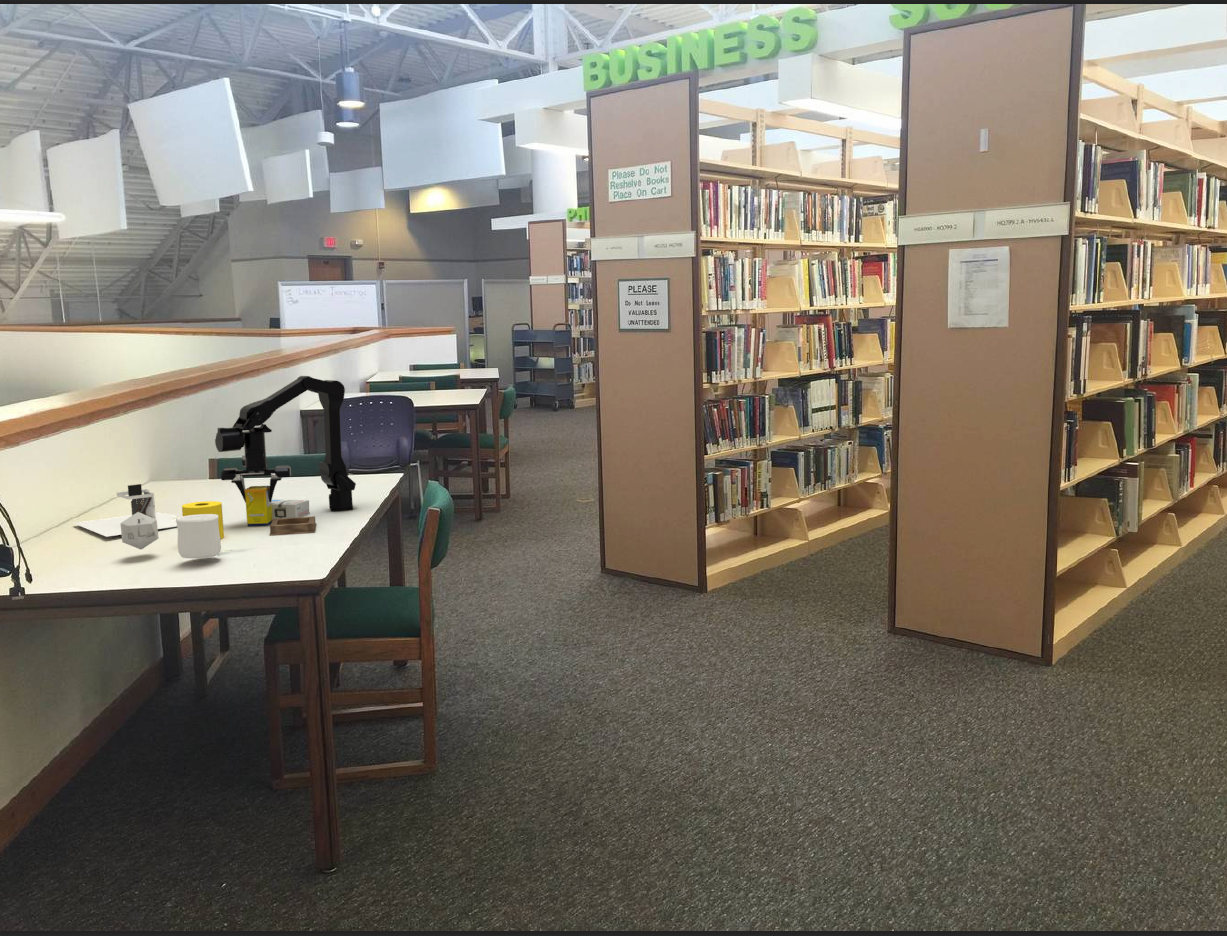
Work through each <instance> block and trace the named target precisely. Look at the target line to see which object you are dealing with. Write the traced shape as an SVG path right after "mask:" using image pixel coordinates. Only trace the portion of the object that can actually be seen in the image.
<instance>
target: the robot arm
mask: <svg viewBox="0 0 1227 936" xmlns="http://www.w3.org/2000/svg"><path fill="white" fill-rule="evenodd" d="M307 391H309V392H312V393H316V394H317V396H318V399H319V402H320V405H321V406H322V409H323V418H324V420H323V423H324V447H325V449H324V450H325V452H324V453H325V455H324V460H323V462H322V461H320V462H318V468H319V473H318V476H320V479H321V481H322V482H323V483H324V484H325V485H326V487H327V490H330V493H329V494H328V507H329V509H330V511H331V512H340V511H343V512H344V511H353V510H354V505H353V491H354V490H355V489H356V485H357V484H356V482H355V481H354V480H352V478H350V477H349V475H348V470H347V466H346V463H345V461H344V459H343V455H342V434H341V428H342V426H341V407H342V405H343V404H344V400H345V393H346V389H345V386H344V384H343V383H342V382H341V381H339V380H332V379H331V380H329V379H325V380H322V379H319V378H314V377H313V376H310V375H299V376H298V377H297V378H296V379H295V380H293V381H291V382H290V383H288V384H287V385H285V386H284V387H282V388H281V389H279V390H277V391H275V392H274V393H272V394H271V395H269V396H267V397H265V398H263V399H260V400H257V401H254V402H250V403H249V404H246V405H244V406H243V407H241V408H240V410H239V414H238V415H239V417H237V419H236V421H235V423H234V424H233V425H232V427H218V428H217V432H216V435H215V439H214V443H215V444H214V445H215V448H216V450H217V452H218V453H223V452H224V453H225V452H226V453H227V452H235V451H241V450H242V448H243V449H244V455H242V456H241V463H242V464H241V465H242V467H243V468H245V469H241V470H239V469H238V468H237V467H228V468H227V467H226V468H224V469H222V471H221V472H220V478H221V481H231V482H230V483H231V484H232V483H233V484H235V486H236V487H237V488H238V490H239V492H240V494H241V497H242V499H243V501H244V502H245V503H244V504H246V499H245V489H246V485H245V484H246V483H245V477H260V476H261V477H262V476H270V479H269V486H270V492H269V500H270V502H271V501H272V500H273V497H274V492H275V488H276V485H277V483H278V482H279V481H282V478H290V477H292V467H291V466H290V465H276V467H275V468H269V467H268V466H269V464H268V459H267V452H266V437H265V435H266V434H267V433H272V432H273V430H272V429H271V428H269V427H268V426H267V424H265V422H267V421H268V420H269V419H270V418H271V417H272V415H273V414H274V413H275V412H276V411H277V410H278V409H280V408H281V407H282V406H285V405H286V404H288V403H289V402H291V401H292V400H294V399H295V398H297V397H298V396H300V395H302V394H304V393H305V392H307ZM265 433H266V434H265Z"/></svg>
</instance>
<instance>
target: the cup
mask: <svg viewBox="0 0 1227 936" xmlns="http://www.w3.org/2000/svg"><path fill="white" fill-rule="evenodd" d="M218 517H219V516H218V515H216V514H199V515H189V516H183V515H182V516H177V518H176V519H175V520H176V523H177V526H176V528H177V549H178V554H179V556H180V557H181V558H183V559H205V558H206V559H207V558H210V557H216V556H218V555H219V554H220V553H221V551H222V550H221V549H222V543H221V541H222V540H221V539H220V534H219V526H218Z"/></svg>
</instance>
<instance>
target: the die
mask: <svg viewBox="0 0 1227 936" xmlns="http://www.w3.org/2000/svg"><path fill="white" fill-rule="evenodd" d="M131 515H132V514H131ZM158 539H160V538H159V529H158V528H157V520H156V519H154V518H151V517H149V516H147V515H144V514H142V513H140V512H137V513H136V514H134V515H132V516H131V517H129V518H128V519H126V520H125V521H123V522H122V523H121V542H122V543H124V544H125V545H129V546H130V547H133V548H136V549H138V550H144V548H146V547H148V546H149V545H151V544H152V543H154V542H155V541H157V540H158Z"/></svg>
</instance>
